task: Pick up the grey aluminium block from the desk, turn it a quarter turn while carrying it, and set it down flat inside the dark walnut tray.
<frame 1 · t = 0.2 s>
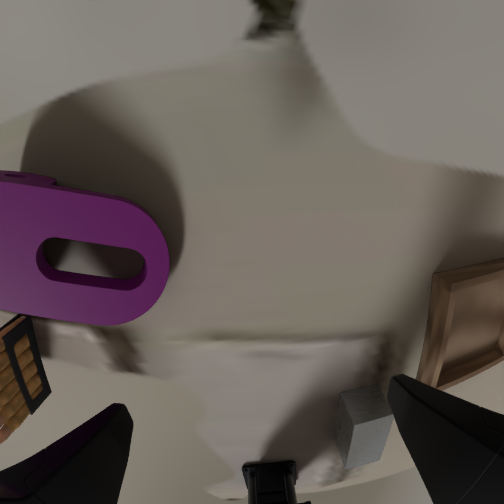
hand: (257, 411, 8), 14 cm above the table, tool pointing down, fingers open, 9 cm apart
mounting bracket: (78, 238, 21), on the table
aluminium block: (354, 413, 26), on the table
ammunition clip: (36, 354, 24), on the table
walnut tray: (470, 318, 24), on the table
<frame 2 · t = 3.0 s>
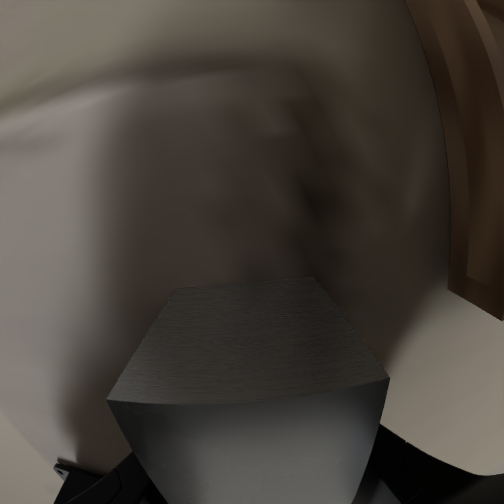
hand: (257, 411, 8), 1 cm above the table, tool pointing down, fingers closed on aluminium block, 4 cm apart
aluminium block: (256, 390, 9), on the table, touching gripper
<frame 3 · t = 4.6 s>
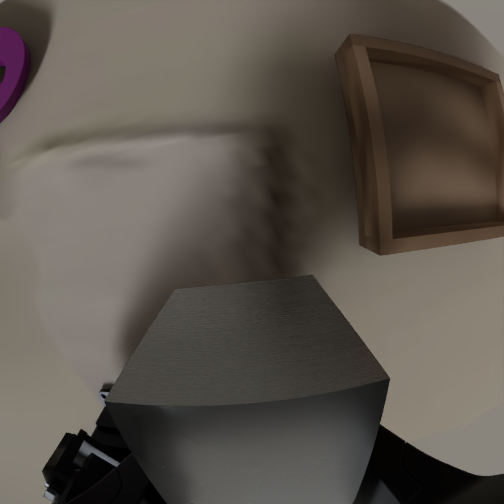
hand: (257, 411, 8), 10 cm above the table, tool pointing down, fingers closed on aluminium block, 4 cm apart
aluminium block: (256, 391, 9), point 9 cm above the table, touching gripper
walnut tray: (435, 146, 16), on the table
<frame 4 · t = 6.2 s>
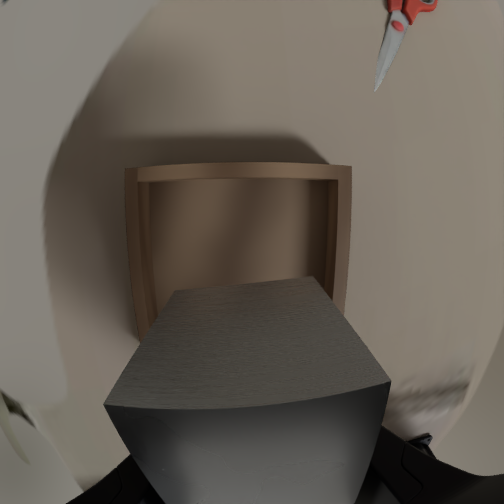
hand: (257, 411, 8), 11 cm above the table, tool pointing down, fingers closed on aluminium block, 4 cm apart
scissors: (402, 26, 16), on the table
aluminium block: (256, 392, 9), point 10 cm above the table, touching gripper
walnut tray: (238, 272, 19), on the table
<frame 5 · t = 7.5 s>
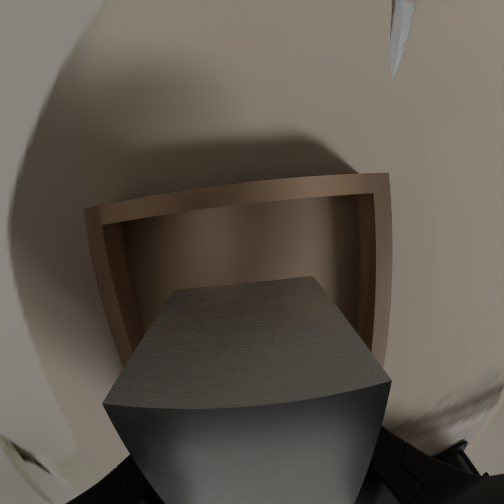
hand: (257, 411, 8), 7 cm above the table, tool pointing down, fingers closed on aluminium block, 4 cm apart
aluminium block: (256, 392, 9), point 6 cm above the table, touching gripper
walnut tray: (250, 318, 15), on the table
when the fingers open (4 cm above the table, at t = 8.9 s): aluminium block drops 2 cm, resting on walnut tray.
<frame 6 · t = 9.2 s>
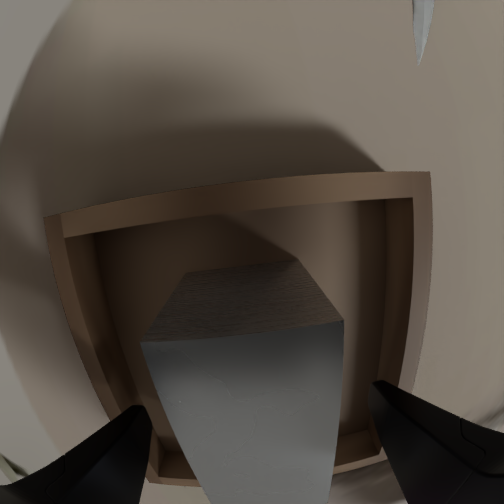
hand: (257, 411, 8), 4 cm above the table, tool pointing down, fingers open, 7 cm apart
aluminium block: (255, 361, 11), point 1 cm above the table, touching walnut tray
walnut tray: (253, 348, 12), on the table
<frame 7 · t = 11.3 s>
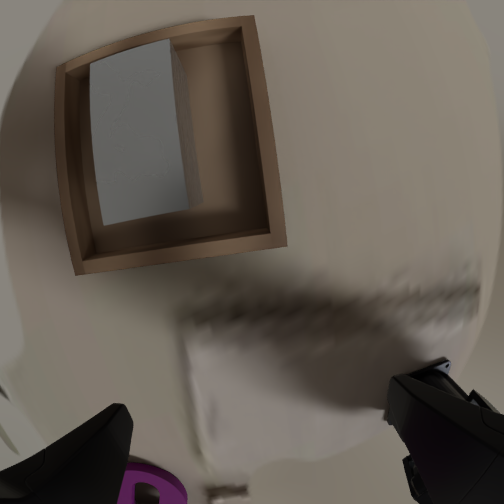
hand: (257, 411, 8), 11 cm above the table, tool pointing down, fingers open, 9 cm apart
mounting bracket: (151, 491, 25), on the table
aluminium block: (161, 142, 15), point 1 cm above the table, touching walnut tray
walnut tray: (164, 144, 16), on the table
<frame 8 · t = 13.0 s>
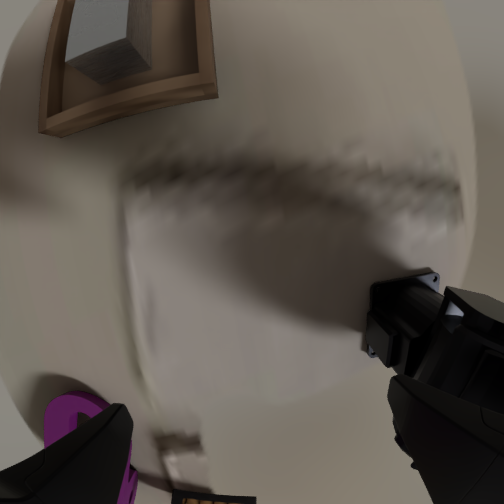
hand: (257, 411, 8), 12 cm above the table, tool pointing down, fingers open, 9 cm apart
mounting bracket: (100, 439, 24), on the table
aluminium block: (126, 34, 15), point 1 cm above the table, touching walnut tray
ammunition clip: (214, 495, 26), on the table
walnut tray: (130, 39, 15), on the table
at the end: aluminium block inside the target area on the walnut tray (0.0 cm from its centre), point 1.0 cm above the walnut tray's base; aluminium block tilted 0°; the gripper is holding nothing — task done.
